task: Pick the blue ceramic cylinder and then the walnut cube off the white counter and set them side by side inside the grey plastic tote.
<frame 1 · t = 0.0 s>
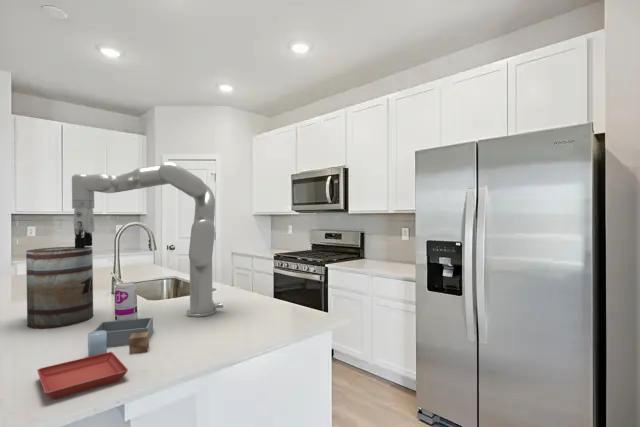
hand: (83, 247, 145), 31 cm above the counter, tool pointing down, fingers open, 9 cm apart
barrel: (61, 320, 150), on the counter
blue cylinder: (97, 354, 113), on the counter
plant saucer: (82, 382, 96), on the counter
tote: (124, 339, 127), on the counter
walnut cube: (139, 350, 117), on the counter
supplement can: (126, 320, 150), on the counter
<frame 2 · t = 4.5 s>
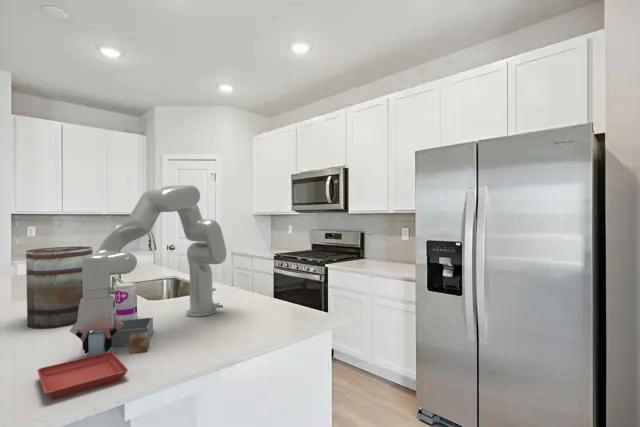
hand: (97, 350, 113), 1 cm above the counter, tool pointing down, fingers closed on blue cylinder, 5 cm apart
blue cylinder: (97, 354, 113), on the counter, touching gripper
everything else where it was.
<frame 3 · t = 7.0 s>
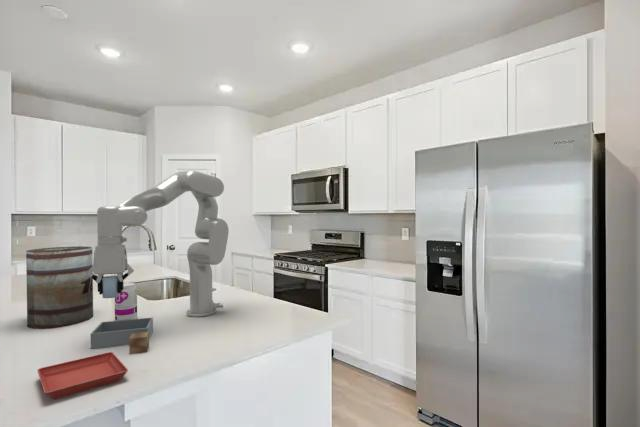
hand: (110, 292, 126), 17 cm above the counter, tool pointing down, fingers closed on blue cylinder, 5 cm apart
blue cylinder: (110, 296, 126), point 15 cm above the counter, touching gripper
everything else where it was.
when the fingers open (5 cm above the counter, at t = 9.6 s): blue cylinder drops 3 cm, resting on tote.
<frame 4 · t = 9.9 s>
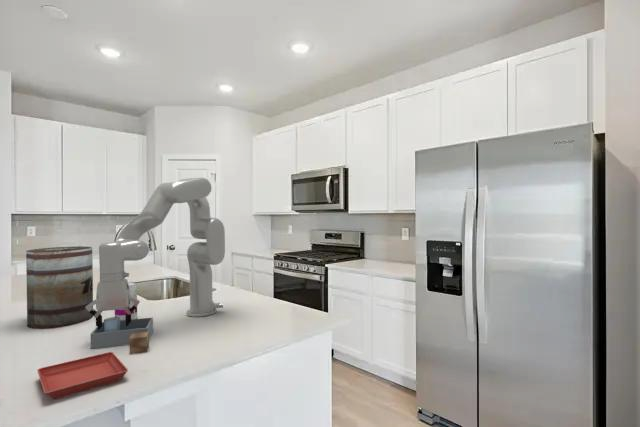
hand: (114, 326, 126), 5 cm above the counter, tool pointing down, fingers open, 8 cm apart
blue cylinder: (112, 338, 126), resting on tote
everything else where it was.
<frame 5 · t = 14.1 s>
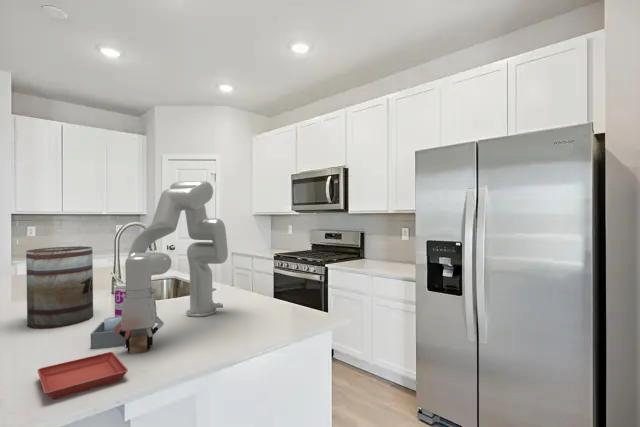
hand: (139, 348, 117), 1 cm above the counter, tool pointing down, fingers closed on walnut cube, 5 cm apart
walnut cube: (139, 350, 117), on the counter, touching gripper
everything else where it was.
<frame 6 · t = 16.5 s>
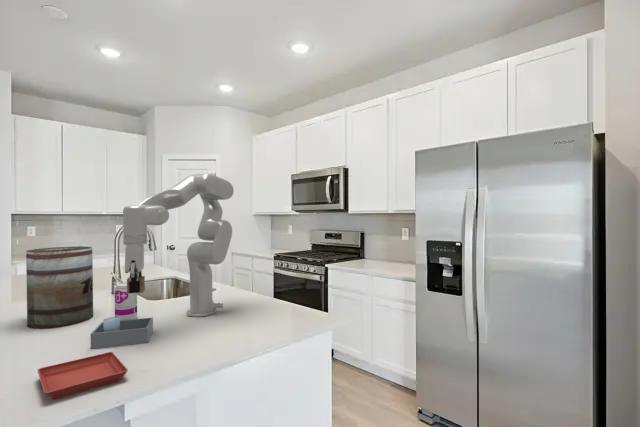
hand: (136, 290, 128), 17 cm above the counter, tool pointing down, fingers closed on walnut cube, 5 cm apart
walnut cube: (136, 291, 128), point 17 cm above the counter, touching gripper
everything else where it was.
when the fingers open (4 cm above the counter, at t = 19.2 s): walnut cube drops 3 cm, resting on tote.
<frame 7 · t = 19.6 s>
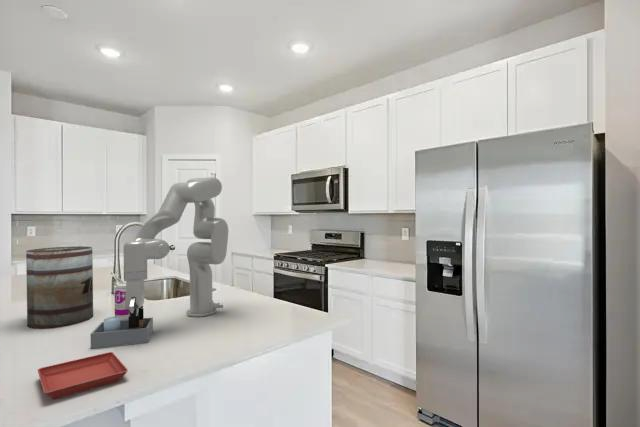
hand: (136, 323, 128), 5 cm above the counter, tool pointing down, fingers open, 9 cm apart
walnut cube: (136, 336, 128), resting on tote
everything else where it was.
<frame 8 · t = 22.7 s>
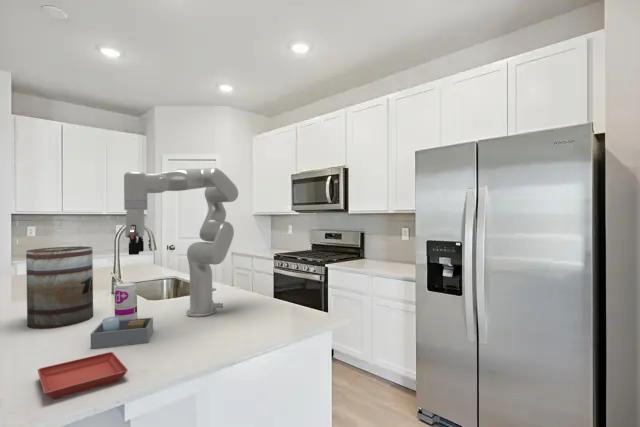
hand: (136, 253, 130), 30 cm above the counter, tool pointing down, fingers open, 9 cm apart
nothing on the counter moved.
at the end: blue cylinder inside the target area on the tote (3.7 cm from its centre), point 0.7 cm above the tote's base; walnut cube inside the target area on the tote (4.1 cm from its centre), point 0.5 cm above the tote's base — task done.
